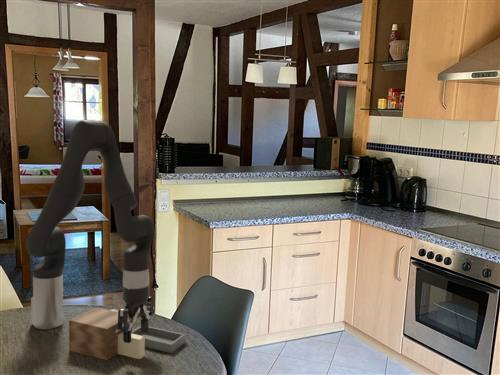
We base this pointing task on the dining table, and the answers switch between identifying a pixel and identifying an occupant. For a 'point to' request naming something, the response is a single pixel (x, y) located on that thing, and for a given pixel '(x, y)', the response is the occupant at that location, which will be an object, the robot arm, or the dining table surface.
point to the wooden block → (94, 333)
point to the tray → (161, 339)
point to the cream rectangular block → (130, 346)
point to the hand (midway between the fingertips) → (136, 336)
